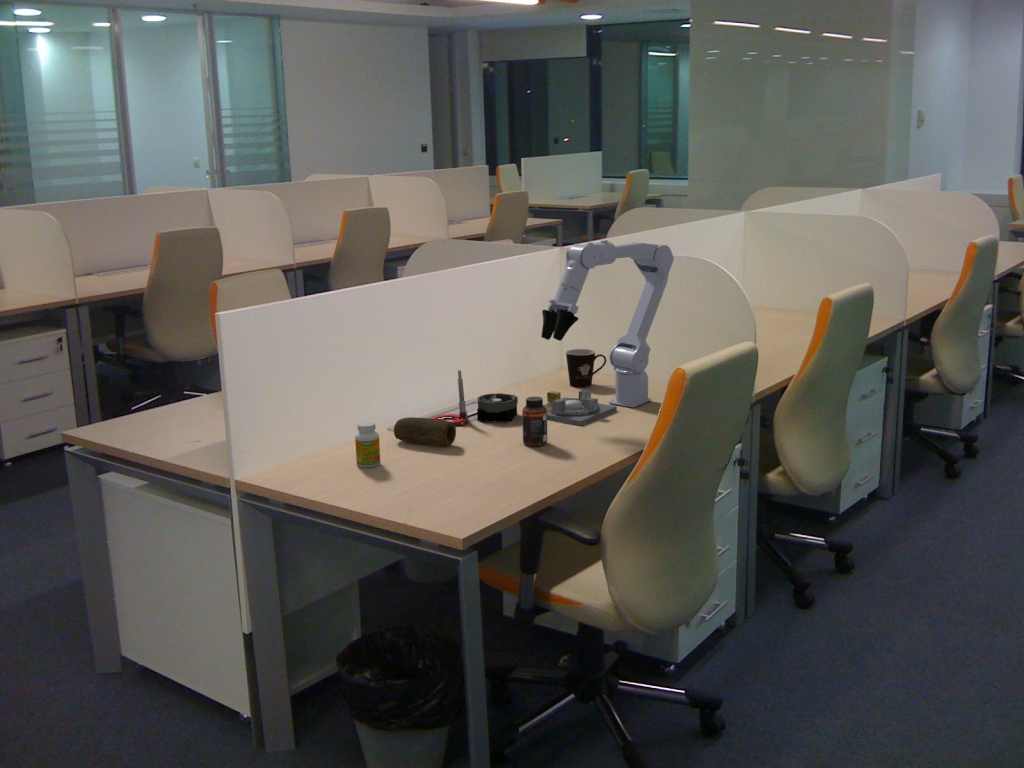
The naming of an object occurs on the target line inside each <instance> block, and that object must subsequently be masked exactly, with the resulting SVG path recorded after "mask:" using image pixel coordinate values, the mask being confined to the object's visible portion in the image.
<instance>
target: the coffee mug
mask: <svg viewBox="0 0 1024 768" xmlns="http://www.w3.org/2000/svg"><path fill="white" fill-rule="evenodd" d="M565 355H566V364H567V371H568V380H569V386H570V387H571V388H578V389H581V388H583V389H584V388H589V387H591V386H592V383H593V376H594V375H595V374H597V373H598V372H599V371H601V370H602V369H603V368H604V366H605V365H606V363H607V356H606V355H603V354H602V353H600V354H599V353H598V354H596V351H595V350H594V349H589V348H576V349H575V348H574V349H569V350H566V351H565ZM598 357H602V358H603V360H604V361H603V363H602V365H601V366H599V367H598V368H597V369H596V370H594V367H595V366H594V365H595V361H596V359H597V358H598Z"/></svg>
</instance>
